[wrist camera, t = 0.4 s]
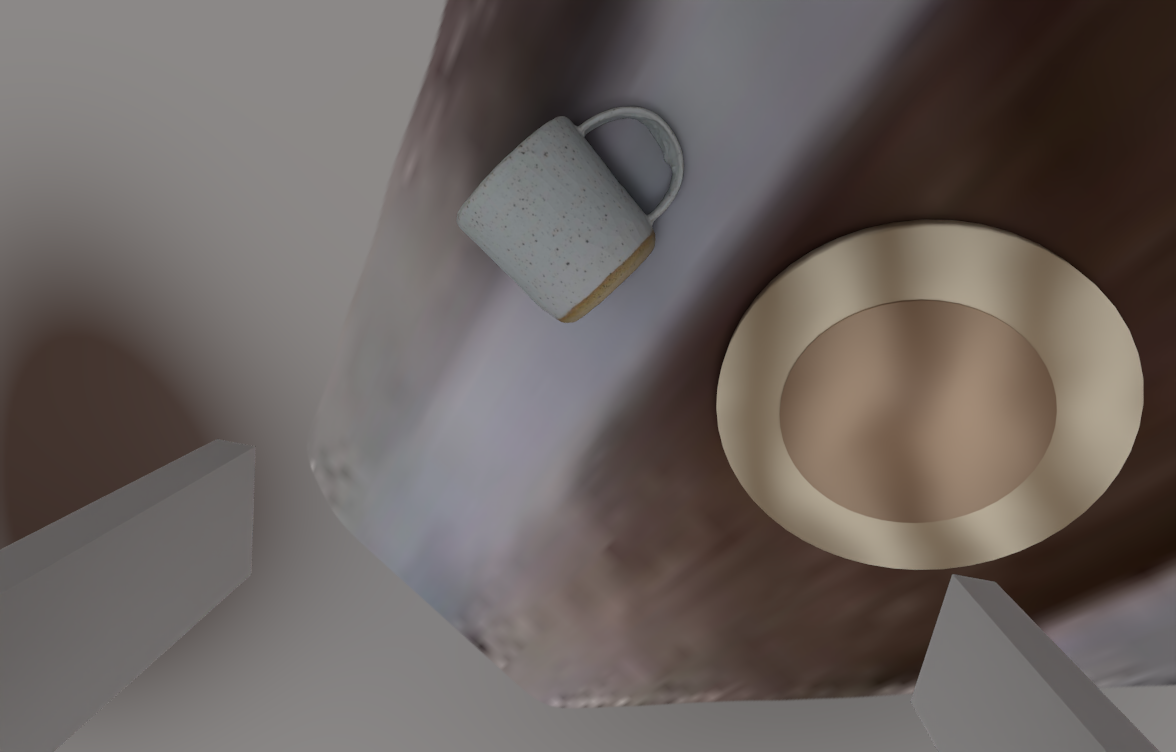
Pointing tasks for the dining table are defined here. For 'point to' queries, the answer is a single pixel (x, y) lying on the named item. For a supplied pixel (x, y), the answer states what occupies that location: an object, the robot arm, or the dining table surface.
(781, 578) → the dining table surface
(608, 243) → the ceramic mug
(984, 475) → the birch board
